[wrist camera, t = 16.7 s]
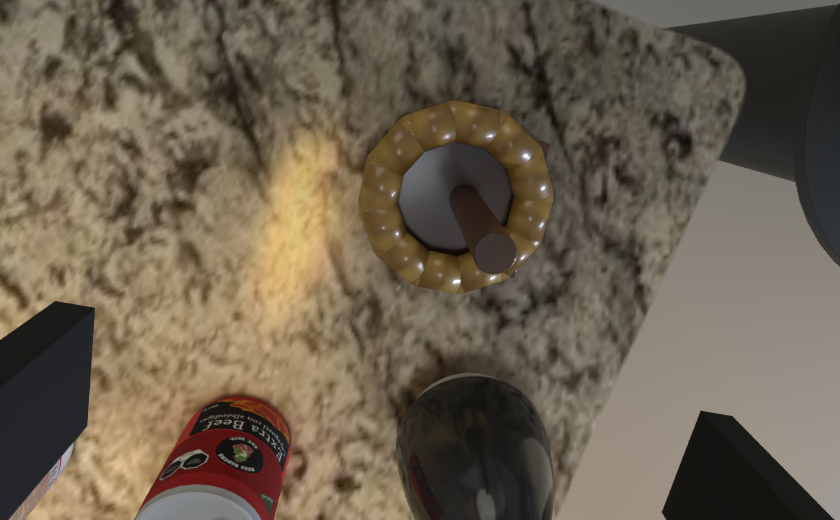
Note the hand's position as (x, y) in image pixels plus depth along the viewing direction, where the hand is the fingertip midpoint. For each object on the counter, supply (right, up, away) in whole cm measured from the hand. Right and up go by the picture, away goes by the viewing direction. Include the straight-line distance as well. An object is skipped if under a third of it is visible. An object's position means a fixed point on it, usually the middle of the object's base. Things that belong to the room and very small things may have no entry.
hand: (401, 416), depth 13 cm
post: (+3, +8, +28) cm, 29 cm away
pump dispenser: (+4, -8, +33) cm, 34 cm away
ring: (+3, +7, +25) cm, 26 cm away
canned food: (-13, -10, +33) cm, 36 cm away
